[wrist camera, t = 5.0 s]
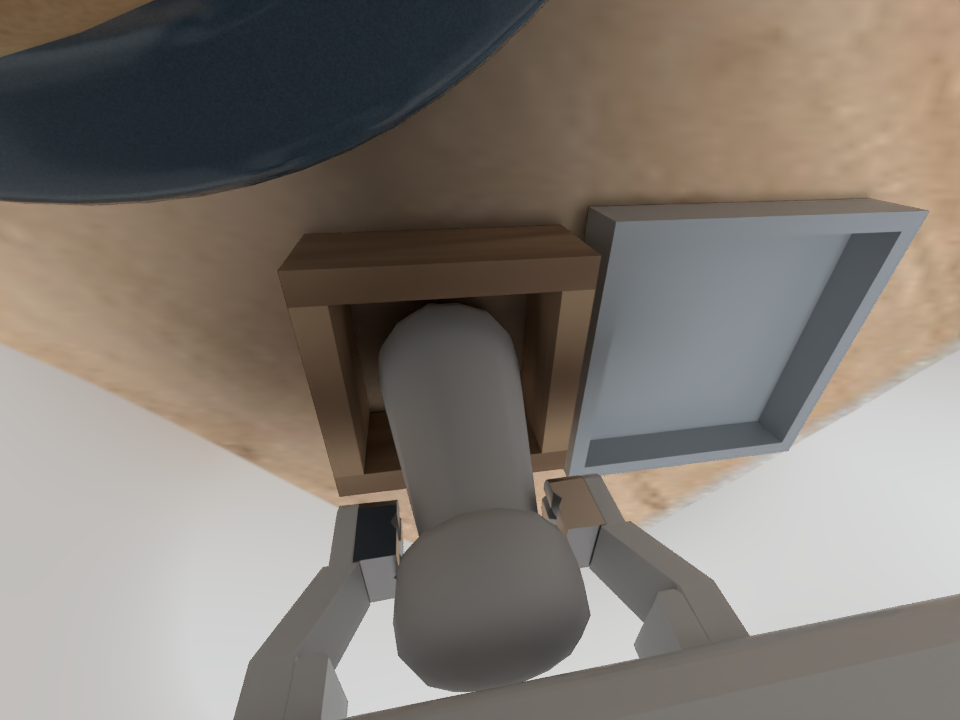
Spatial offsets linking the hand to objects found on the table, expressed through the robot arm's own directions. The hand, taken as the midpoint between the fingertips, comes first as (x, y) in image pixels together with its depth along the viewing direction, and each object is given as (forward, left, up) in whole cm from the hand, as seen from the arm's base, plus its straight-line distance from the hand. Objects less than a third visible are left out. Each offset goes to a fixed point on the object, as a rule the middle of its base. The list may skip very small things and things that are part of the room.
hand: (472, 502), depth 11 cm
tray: (+1, +13, -9) cm, 16 cm away
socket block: (0, 0, -9) cm, 9 cm away
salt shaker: (0, 0, -9) cm, 9 cm away
